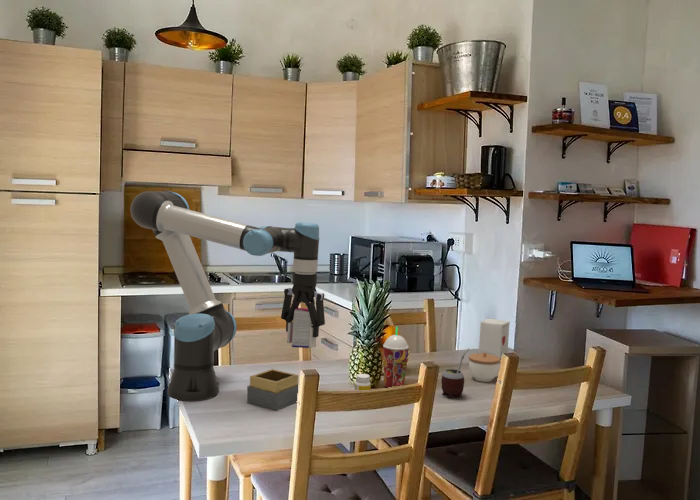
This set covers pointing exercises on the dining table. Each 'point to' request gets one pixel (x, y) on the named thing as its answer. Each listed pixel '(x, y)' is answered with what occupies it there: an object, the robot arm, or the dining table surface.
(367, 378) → the supplement bottle
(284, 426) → the dining table surface
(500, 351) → the supplement box
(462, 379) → the mate gourd
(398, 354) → the smoothie
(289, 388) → the box
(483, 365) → the lidded jar
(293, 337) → the supplement box
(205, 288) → the robot arm
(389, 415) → the dining table surface
